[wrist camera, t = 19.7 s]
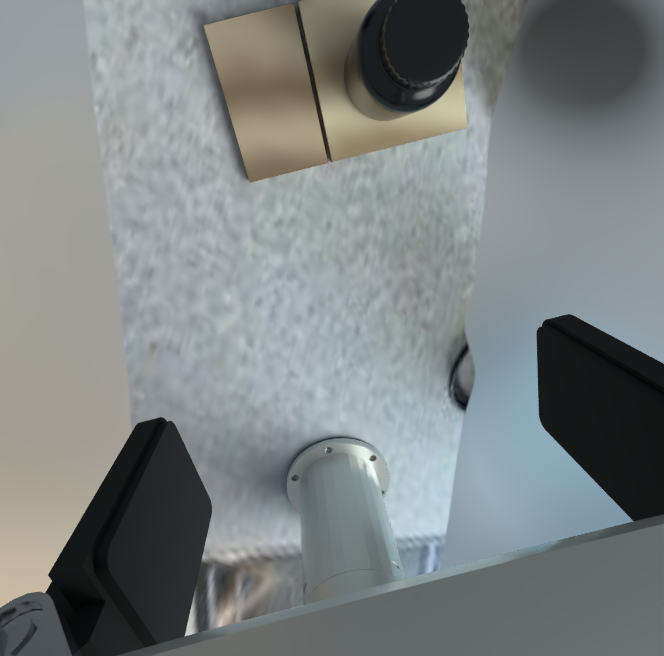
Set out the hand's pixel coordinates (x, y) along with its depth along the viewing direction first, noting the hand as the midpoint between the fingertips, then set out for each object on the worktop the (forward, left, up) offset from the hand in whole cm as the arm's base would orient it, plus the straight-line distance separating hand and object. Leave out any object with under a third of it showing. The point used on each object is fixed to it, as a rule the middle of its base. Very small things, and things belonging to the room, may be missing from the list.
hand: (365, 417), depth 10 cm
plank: (+11, -9, -30) cm, 34 cm away
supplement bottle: (+11, -9, -29) cm, 32 cm away
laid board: (+11, +1, -30) cm, 32 cm away
